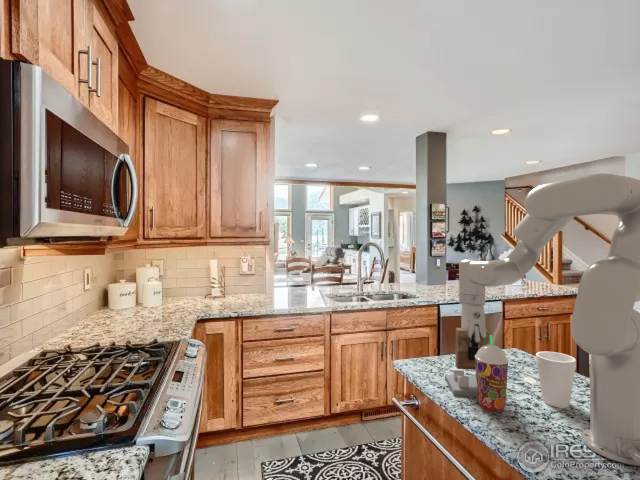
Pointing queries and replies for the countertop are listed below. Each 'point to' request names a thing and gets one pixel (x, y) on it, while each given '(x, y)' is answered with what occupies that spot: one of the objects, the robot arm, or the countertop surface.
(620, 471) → the countertop surface
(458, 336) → the door
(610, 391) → the robot arm
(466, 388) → the hinge base
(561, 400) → the foam cup
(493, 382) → the smoothie
